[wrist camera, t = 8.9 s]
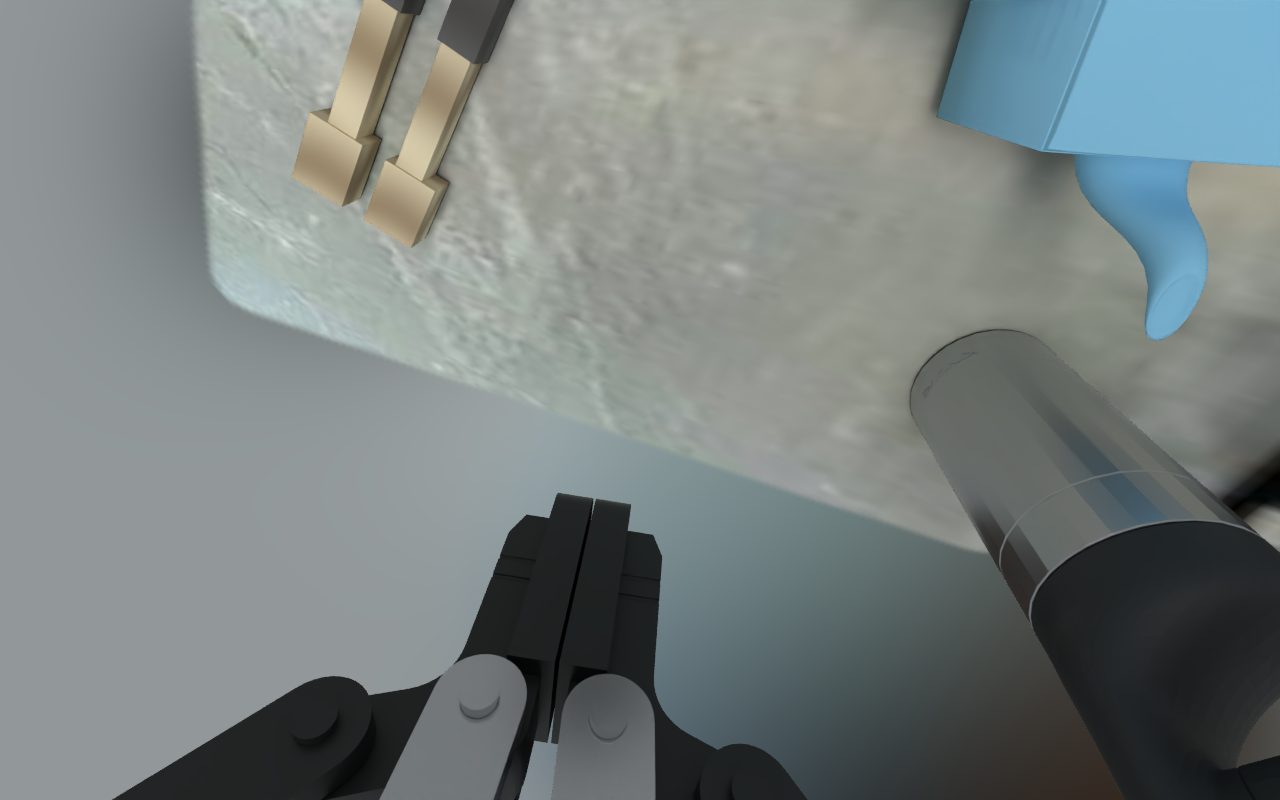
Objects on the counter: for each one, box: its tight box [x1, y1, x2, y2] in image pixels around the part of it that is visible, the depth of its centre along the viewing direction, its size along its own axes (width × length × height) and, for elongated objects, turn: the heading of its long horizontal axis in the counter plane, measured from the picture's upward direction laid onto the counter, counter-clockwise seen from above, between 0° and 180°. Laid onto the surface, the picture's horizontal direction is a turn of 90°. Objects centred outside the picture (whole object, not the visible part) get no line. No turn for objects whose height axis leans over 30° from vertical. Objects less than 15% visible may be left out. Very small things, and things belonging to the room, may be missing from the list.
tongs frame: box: [292, 0, 424, 207], centre depth 29 cm, size 23×6×3 cm, turn 147°
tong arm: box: [364, 0, 514, 248], centre depth 31 cm, size 18×3×2 cm, turn 147°
